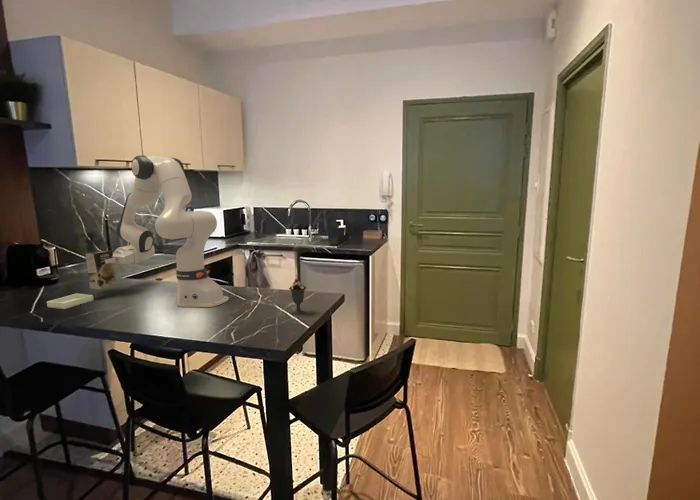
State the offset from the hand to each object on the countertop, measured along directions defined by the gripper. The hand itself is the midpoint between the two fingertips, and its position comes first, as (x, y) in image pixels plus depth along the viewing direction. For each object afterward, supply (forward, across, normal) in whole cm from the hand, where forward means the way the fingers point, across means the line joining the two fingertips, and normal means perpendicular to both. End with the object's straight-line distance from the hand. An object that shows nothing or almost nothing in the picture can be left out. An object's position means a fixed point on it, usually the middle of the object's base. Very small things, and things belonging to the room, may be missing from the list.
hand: (98, 261), depth 186 cm
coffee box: (-1, 0, +12) cm, 12 cm away
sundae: (-6, +97, +17) cm, 98 cm away
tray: (+12, -4, +17) cm, 21 cm away
